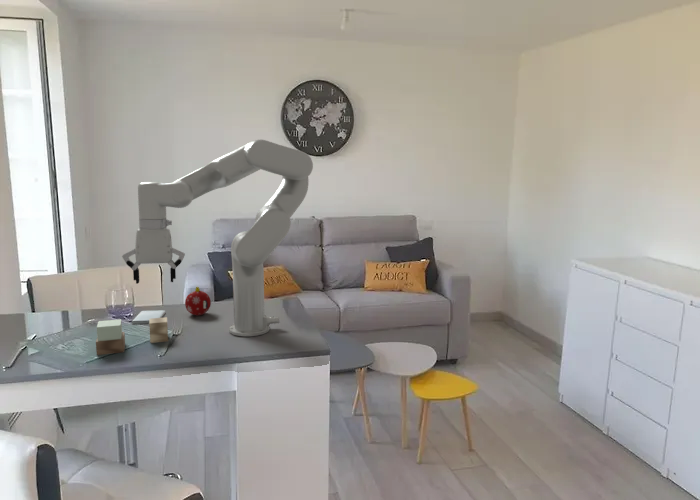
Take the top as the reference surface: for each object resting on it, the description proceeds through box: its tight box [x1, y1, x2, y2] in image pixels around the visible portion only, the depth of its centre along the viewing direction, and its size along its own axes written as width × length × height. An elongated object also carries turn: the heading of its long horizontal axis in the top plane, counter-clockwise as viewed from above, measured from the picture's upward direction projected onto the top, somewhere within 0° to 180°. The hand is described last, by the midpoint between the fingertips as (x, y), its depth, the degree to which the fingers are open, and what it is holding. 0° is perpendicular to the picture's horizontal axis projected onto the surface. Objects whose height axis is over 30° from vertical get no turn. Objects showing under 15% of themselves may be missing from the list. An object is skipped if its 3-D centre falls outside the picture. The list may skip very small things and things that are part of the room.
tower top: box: [96, 318, 123, 341], centre depth 154 cm, size 6×6×4 cm
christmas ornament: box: [184, 286, 212, 316], centre depth 188 cm, size 9×9×10 cm
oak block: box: [148, 316, 169, 344], centre depth 163 cm, size 5×5×6 cm
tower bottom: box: [95, 331, 126, 356], centre depth 154 cm, size 7×7×4 cm
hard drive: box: [131, 309, 166, 325], centre depth 185 cm, size 2×8×12 cm
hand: (155, 281), depth 162 cm, fingers open, 9 cm apart
